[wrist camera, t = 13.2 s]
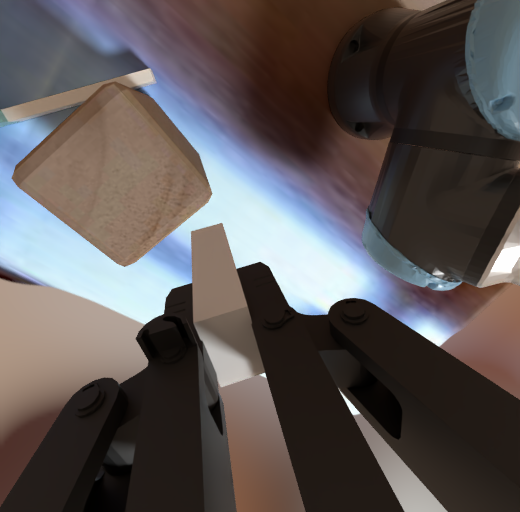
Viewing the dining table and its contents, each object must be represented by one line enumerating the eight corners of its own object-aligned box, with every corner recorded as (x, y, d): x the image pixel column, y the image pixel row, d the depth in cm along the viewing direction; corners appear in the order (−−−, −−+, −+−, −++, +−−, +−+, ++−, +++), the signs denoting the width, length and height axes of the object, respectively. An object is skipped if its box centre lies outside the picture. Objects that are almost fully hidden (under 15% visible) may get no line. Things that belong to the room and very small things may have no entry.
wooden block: (88, 145, 35) (-4, 178, 18) (147, 91, 34) (110, 71, 17) (149, 204, 40) (124, 275, 23) (203, 159, 39) (218, 197, 22)
